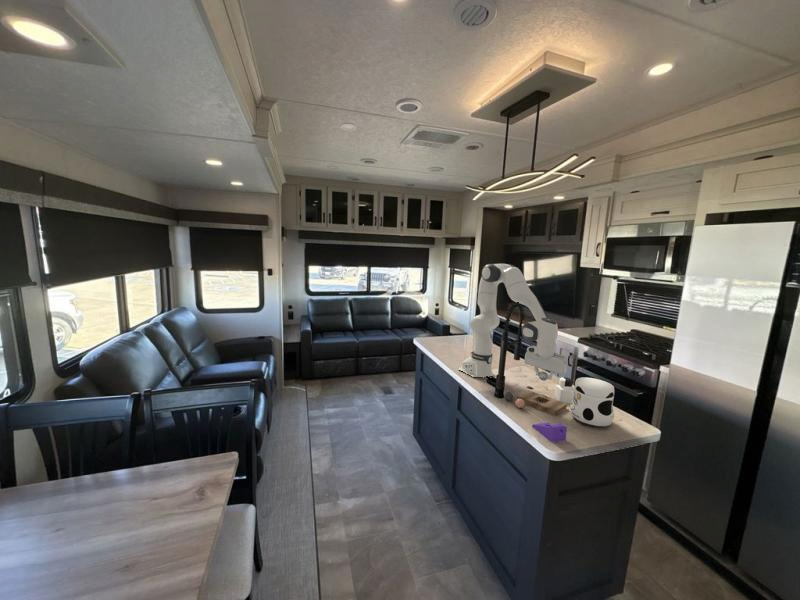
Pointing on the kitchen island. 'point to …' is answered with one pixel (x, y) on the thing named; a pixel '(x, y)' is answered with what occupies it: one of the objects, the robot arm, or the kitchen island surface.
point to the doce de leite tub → (593, 402)
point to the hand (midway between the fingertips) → (543, 377)
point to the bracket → (551, 431)
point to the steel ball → (543, 376)
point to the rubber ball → (508, 396)
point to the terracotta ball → (520, 403)
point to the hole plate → (549, 406)
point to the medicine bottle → (564, 390)
